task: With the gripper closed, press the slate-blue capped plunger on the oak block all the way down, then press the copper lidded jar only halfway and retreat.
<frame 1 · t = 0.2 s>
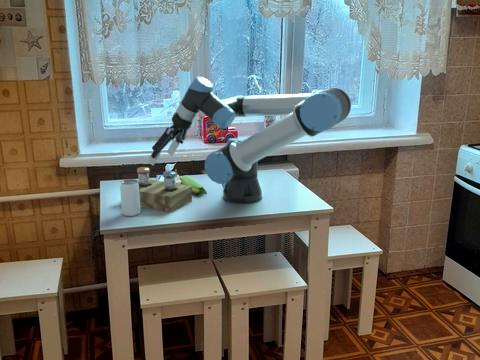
hand: (160, 158, 195), 15 cm above the table, tool tilted 35°, fingers open, 13 cm apart
copper lidded jar: (143, 179, 194), point 8 cm above the table, slide at 0.0 cm
oak block: (157, 202, 193), on the table
edible corn: (192, 191, 207), on the table
can: (131, 214, 182), on the table
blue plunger: (169, 183, 188), point 8 cm above the table, slide at 0.0 cm
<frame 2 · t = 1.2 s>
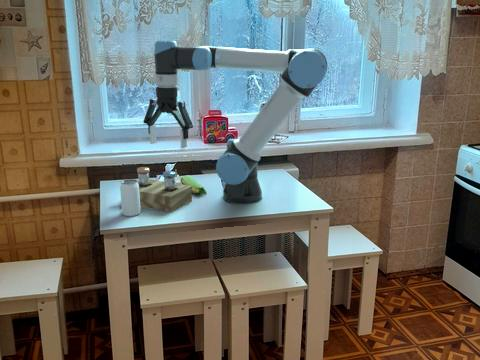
hand: (168, 145, 184), 23 cm above the table, tool pointing down, fingers open, 13 cm apart
nothing on the table moved.
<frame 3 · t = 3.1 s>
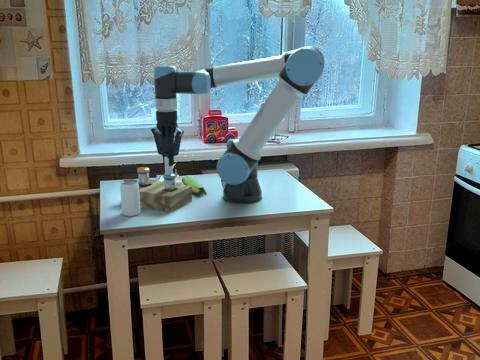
hand: (169, 173, 187), 12 cm above the table, tool pointing down, fingers closed
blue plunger: (169, 185, 188), point 8 cm above the table, slide at 0.7 cm, touching gripper
everything else where it was.
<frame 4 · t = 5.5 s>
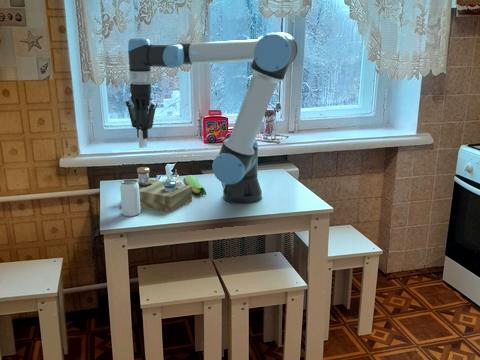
hand: (143, 146, 189), 21 cm above the table, tool pointing down, fingers closed
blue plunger: (170, 192, 189), point 5 cm above the table, slide at 3.8 cm
everything else where it was.
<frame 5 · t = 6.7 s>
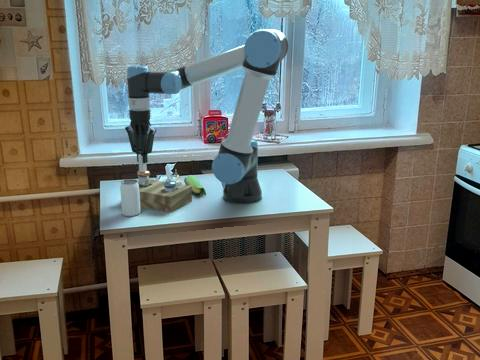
hand: (143, 170, 193), 12 cm above the table, tool pointing down, fingers closed
copper lidded jar: (144, 181, 194), point 7 cm above the table, slide at 1.2 cm, touching gripper
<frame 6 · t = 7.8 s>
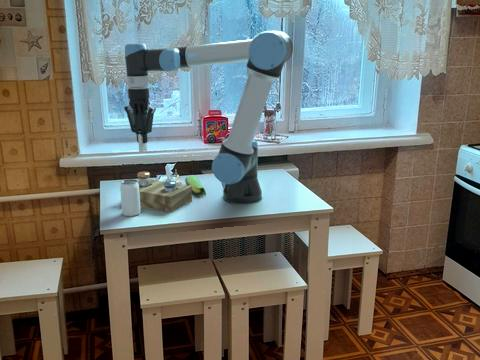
hand: (143, 151, 190), 19 cm above the table, tool pointing down, fingers closed
copper lidded jar: (144, 183, 194), point 7 cm above the table, slide at 1.8 cm
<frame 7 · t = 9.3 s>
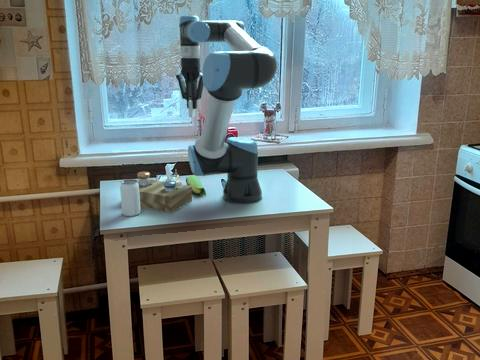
hand: (192, 116, 206), 29 cm above the table, tool pointing down, fingers closed
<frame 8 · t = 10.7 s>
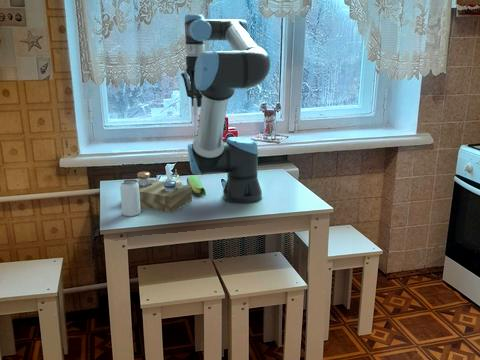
hand: (197, 114, 208), 29 cm above the table, tool pointing down, fingers closed
at the end: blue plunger slide at 3.8 cm; copper lidded jar slide at 1.8 cm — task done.
